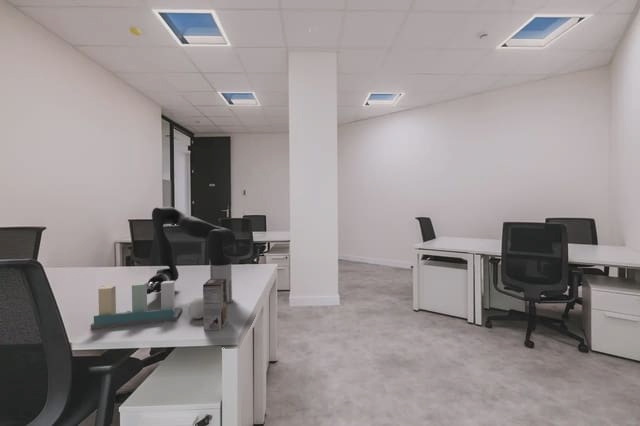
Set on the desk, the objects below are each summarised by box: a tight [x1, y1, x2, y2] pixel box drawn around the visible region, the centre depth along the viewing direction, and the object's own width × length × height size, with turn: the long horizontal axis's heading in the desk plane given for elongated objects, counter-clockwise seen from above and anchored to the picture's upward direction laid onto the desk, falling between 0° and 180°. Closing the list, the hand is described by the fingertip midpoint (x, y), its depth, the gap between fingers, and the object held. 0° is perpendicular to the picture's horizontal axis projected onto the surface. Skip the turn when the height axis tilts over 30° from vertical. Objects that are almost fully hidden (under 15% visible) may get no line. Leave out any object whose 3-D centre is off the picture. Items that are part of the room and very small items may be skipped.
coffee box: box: [202, 278, 228, 332], centre depth 110 cm, size 9×6×16 cm
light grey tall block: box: [160, 281, 176, 312], centre depth 120 cm, size 4×4×12 cm
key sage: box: [131, 281, 148, 313], centre depth 118 cm, size 4×4×12 cm
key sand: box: [98, 285, 117, 315], centre depth 113 cm, size 4×4×12 cm
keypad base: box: [90, 307, 183, 330], centre depth 118 cm, size 28×12×4 cm, turn 104°
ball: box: [187, 296, 204, 320], centre depth 118 cm, size 8×8×8 cm
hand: (147, 291), depth 128 cm, fingers closed
